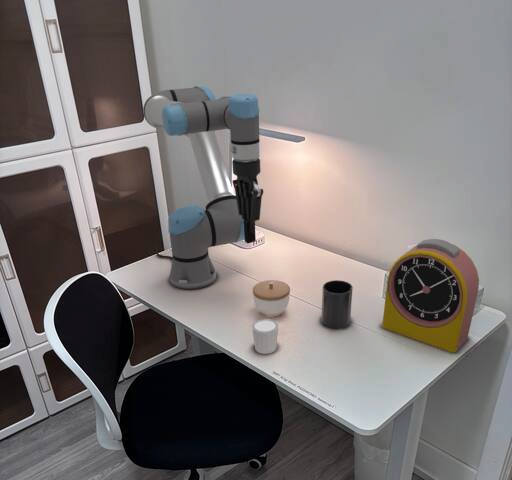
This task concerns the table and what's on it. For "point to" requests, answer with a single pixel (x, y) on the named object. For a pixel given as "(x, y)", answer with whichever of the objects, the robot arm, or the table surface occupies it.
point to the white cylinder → (265, 335)
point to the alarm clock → (432, 294)
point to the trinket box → (271, 297)
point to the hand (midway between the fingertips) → (250, 241)
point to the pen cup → (336, 304)
